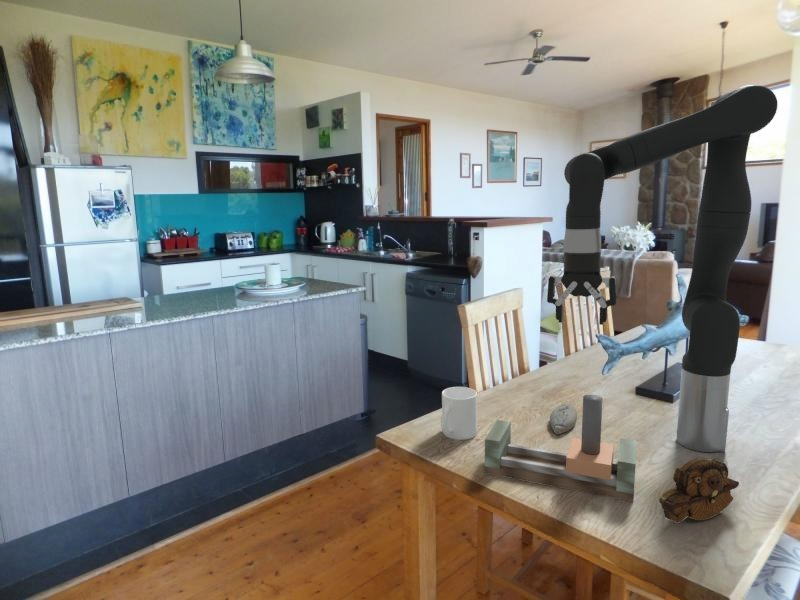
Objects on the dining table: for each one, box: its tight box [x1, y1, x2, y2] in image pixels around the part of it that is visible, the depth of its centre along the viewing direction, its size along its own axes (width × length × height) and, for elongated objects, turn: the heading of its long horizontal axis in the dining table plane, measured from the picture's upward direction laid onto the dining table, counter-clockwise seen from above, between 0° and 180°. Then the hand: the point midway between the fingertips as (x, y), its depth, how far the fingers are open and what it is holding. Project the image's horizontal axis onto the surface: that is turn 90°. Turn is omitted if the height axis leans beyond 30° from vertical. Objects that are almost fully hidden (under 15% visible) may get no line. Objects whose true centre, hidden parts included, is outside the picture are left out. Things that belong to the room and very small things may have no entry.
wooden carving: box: [658, 457, 740, 524], centre depth 90 cm, size 16×5×10 cm, turn 115°
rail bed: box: [484, 419, 637, 502], centre depth 106 cm, size 28×10×8 cm, turn 65°
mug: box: [440, 386, 478, 441], centre depth 124 cm, size 12×8×10 cm
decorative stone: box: [549, 402, 578, 435], centre depth 130 cm, size 6×16×3 cm, turn 156°
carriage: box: [566, 394, 615, 480], centre depth 102 cm, size 8×9×14 cm
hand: (580, 322), depth 116 cm, fingers open, 8 cm apart
